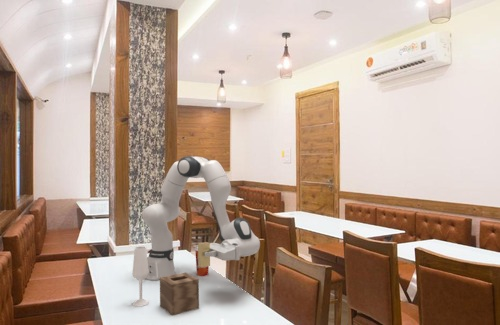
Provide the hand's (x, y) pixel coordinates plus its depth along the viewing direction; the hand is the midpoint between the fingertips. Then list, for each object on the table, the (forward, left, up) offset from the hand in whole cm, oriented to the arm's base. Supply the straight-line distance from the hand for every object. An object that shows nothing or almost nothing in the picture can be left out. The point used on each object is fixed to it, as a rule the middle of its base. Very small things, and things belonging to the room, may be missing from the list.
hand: (202, 253), depth 164 cm
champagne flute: (-24, -10, -21) cm, 34 cm away
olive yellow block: (+1, +1, -6) cm, 6 cm away
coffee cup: (-17, +36, -21) cm, 45 cm away
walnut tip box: (-6, -9, -21) cm, 23 cm away
